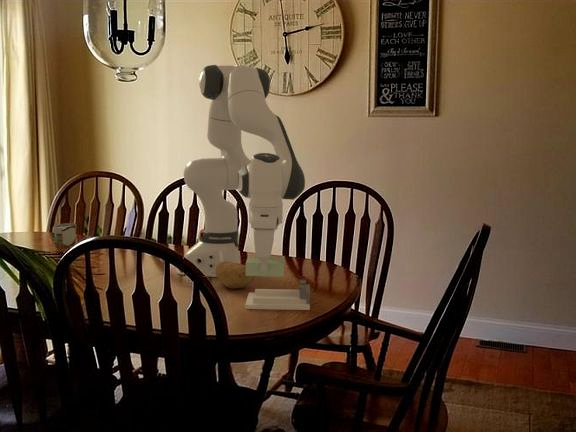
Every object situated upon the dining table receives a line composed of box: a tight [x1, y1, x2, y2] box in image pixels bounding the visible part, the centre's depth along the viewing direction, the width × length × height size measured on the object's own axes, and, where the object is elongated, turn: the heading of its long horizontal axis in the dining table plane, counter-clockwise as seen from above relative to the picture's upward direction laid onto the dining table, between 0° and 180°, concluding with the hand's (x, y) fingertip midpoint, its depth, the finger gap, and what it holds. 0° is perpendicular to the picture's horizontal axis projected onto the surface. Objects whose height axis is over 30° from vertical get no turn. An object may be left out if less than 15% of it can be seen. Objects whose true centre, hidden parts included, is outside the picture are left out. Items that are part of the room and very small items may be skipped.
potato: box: [215, 261, 256, 289], centre depth 190 cm, size 10×14×8 cm
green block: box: [245, 257, 286, 278], centre depth 162 cm, size 10×5×4 cm, turn 89°
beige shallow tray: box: [245, 279, 311, 311], centre depth 175 cm, size 18×12×6 cm, turn 89°
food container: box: [52, 222, 77, 249], centre depth 239 cm, size 12×6×10 cm, turn 172°
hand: (265, 267), depth 162 cm, fingers closed on green block, 5 cm apart
